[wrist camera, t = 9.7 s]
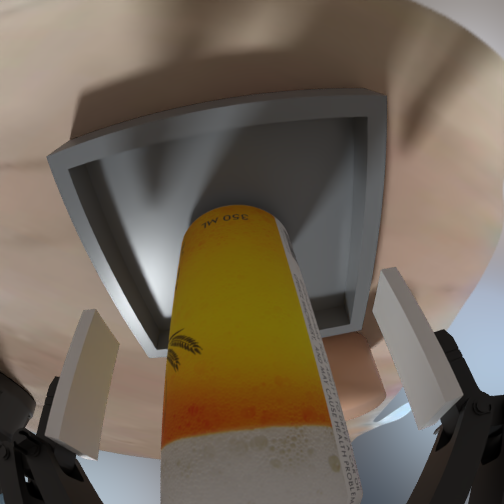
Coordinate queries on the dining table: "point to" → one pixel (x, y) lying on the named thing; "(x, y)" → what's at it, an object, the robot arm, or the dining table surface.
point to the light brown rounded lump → (354, 374)
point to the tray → (232, 195)
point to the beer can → (249, 375)
